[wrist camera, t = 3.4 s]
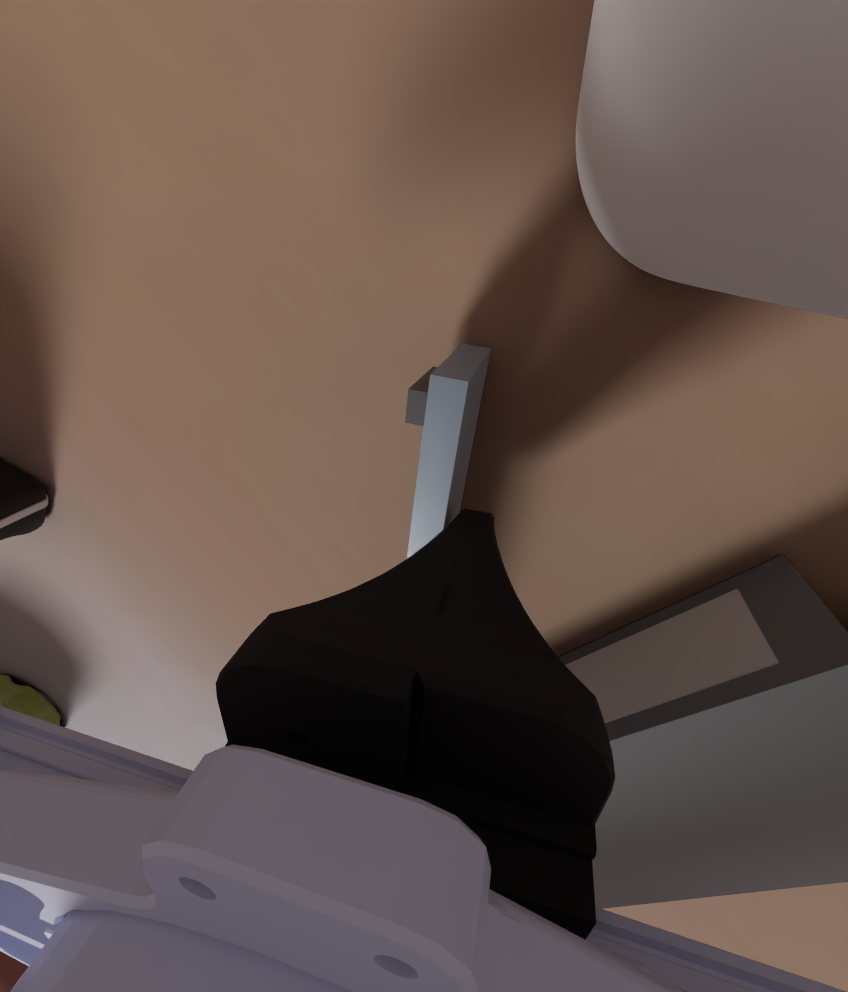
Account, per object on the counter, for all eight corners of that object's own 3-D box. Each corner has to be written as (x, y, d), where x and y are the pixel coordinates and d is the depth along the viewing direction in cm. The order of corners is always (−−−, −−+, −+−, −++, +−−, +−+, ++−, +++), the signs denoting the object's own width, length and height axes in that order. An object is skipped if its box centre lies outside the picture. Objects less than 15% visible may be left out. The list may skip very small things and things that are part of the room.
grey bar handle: (421, 722, 21) (397, 809, 17) (391, 713, 21) (361, 797, 18) (494, 348, 12) (473, 383, 9) (441, 339, 12) (402, 369, 9)
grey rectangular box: (533, 815, 22) (529, 931, 19) (421, 718, 21) (391, 822, 17) (960, 708, 14) (1114, 880, 10) (819, 535, 13) (936, 657, 9)
